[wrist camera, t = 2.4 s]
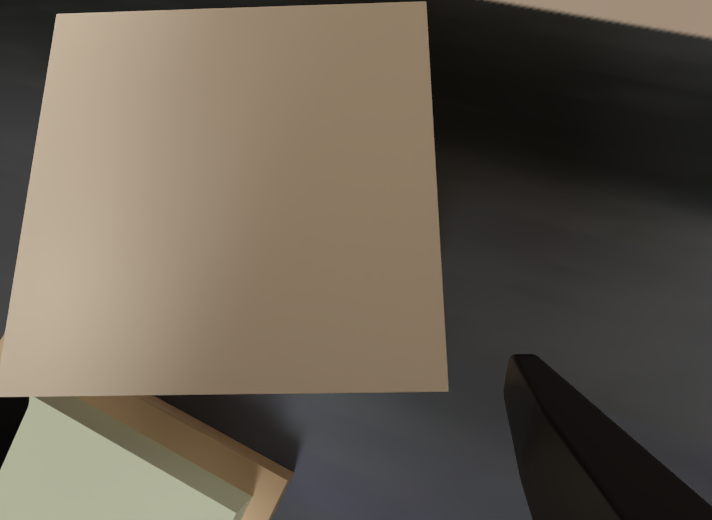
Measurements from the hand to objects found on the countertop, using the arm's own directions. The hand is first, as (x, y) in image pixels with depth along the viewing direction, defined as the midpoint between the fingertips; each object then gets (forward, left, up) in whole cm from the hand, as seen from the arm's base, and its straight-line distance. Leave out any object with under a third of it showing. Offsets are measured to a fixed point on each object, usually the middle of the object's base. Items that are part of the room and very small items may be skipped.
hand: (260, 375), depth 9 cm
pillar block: (+2, +1, -10) cm, 11 cm away
